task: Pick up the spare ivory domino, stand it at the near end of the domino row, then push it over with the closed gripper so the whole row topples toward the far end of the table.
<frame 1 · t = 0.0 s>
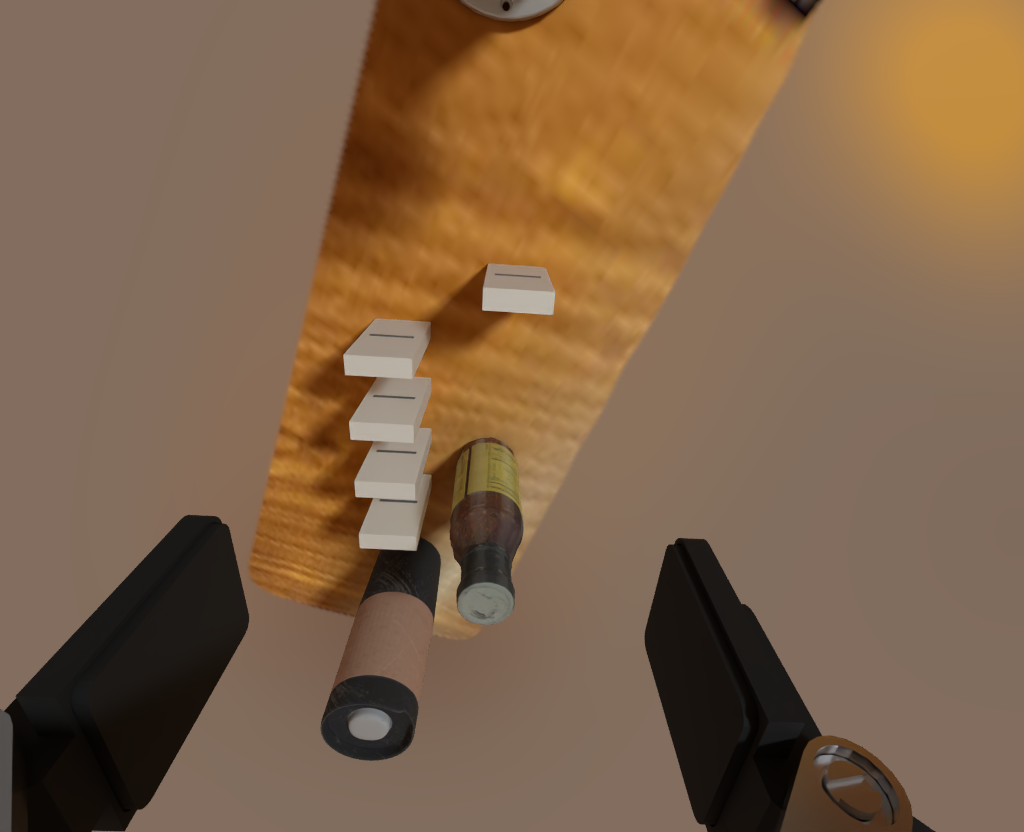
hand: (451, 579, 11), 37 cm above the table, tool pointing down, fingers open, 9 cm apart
travel mug: (410, 558, 58), on the table
domino 2: (405, 384, 48), on the table
domino 1: (403, 328, 46), on the table
sauce bottle: (489, 458, 52), on the table
domino 3: (406, 434, 51), on the table
domino 4: (408, 479, 53), on the table
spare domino: (516, 274, 44), on the table
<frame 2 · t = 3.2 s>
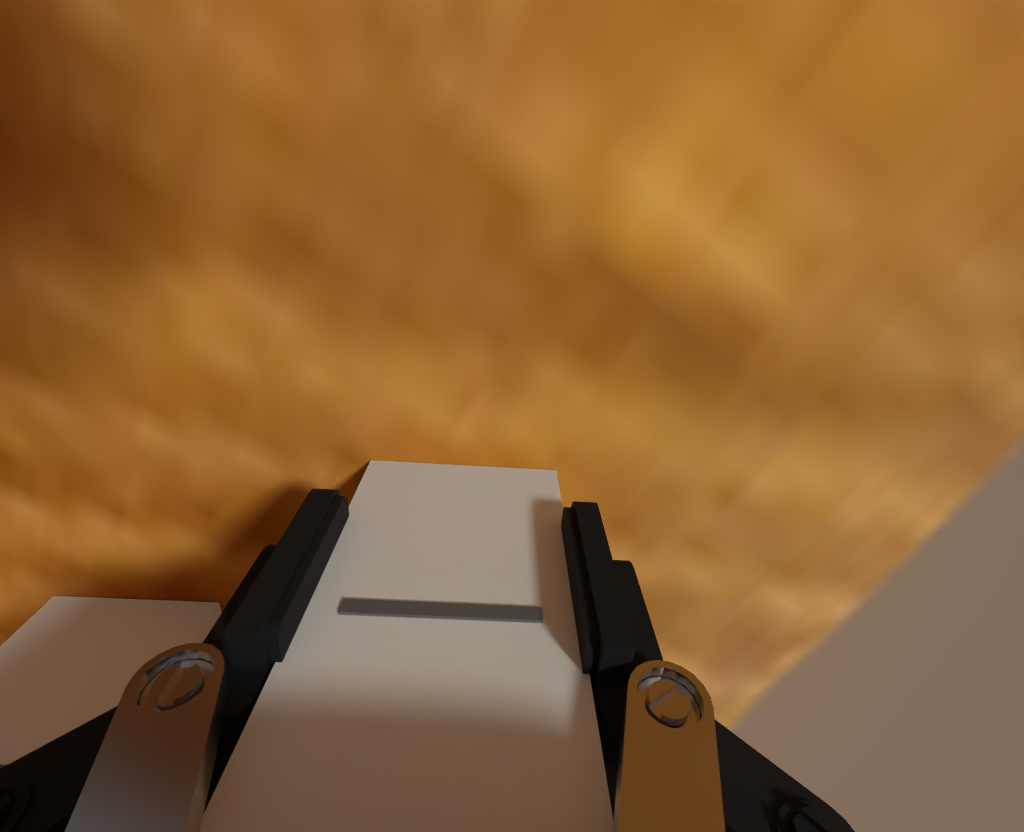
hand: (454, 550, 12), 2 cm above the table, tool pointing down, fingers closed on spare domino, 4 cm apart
domino 1: (143, 617, 16), on the table
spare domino: (463, 490, 14), on the table, touching gripper
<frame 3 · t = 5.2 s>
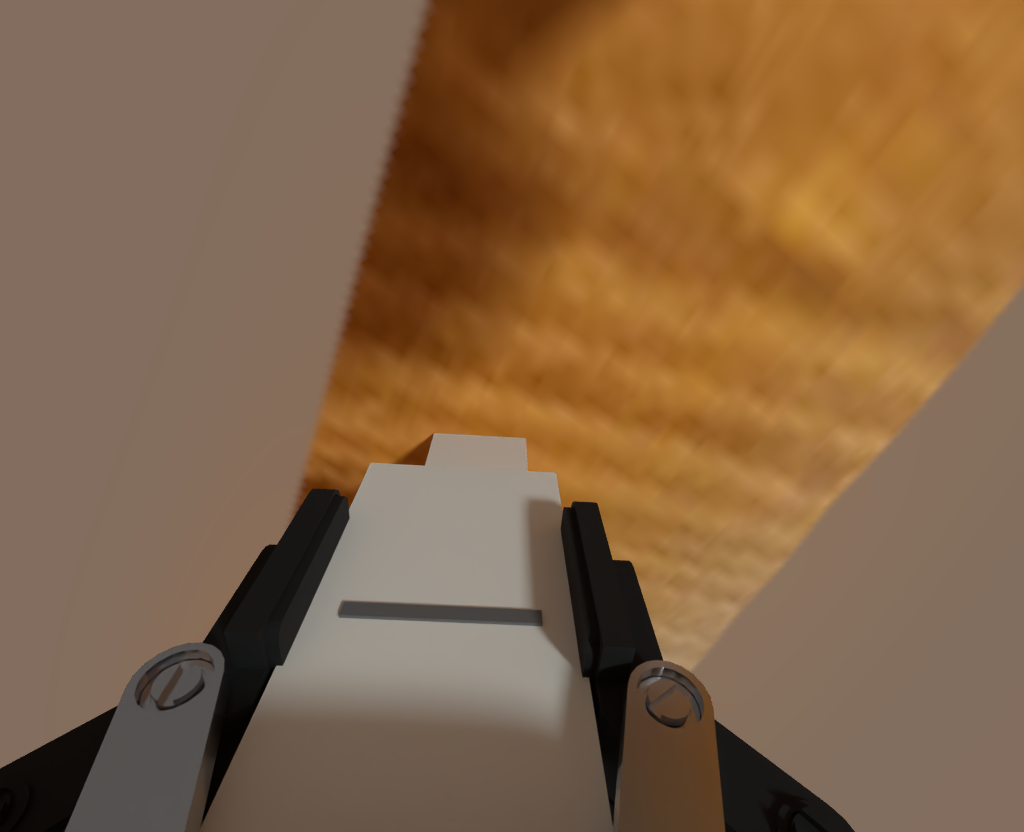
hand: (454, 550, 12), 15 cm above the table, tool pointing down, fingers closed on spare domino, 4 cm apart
domino 1: (479, 448, 28), on the table
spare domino: (463, 492, 14), point 12 cm above the table, touching gripper
when the fingers open (3 cm above the table, at t = 7.7 s): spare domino stays where it is, on the table.
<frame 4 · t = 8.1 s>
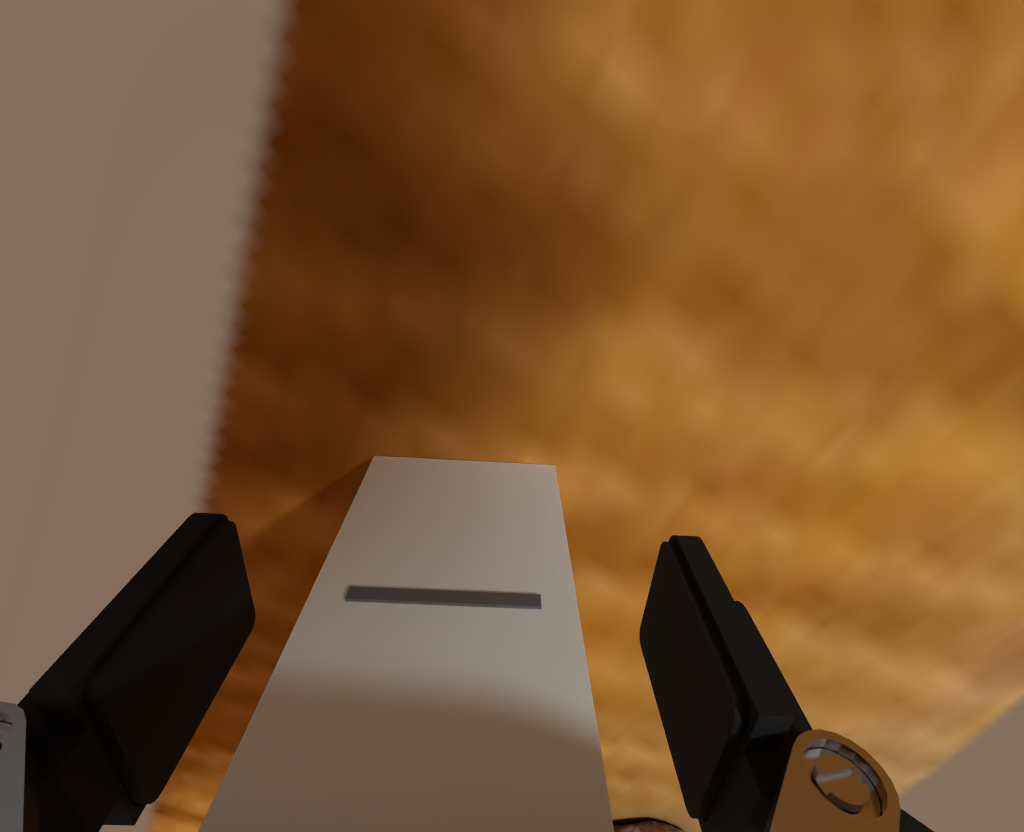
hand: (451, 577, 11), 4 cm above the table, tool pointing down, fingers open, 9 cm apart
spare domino: (464, 484, 14), on the table
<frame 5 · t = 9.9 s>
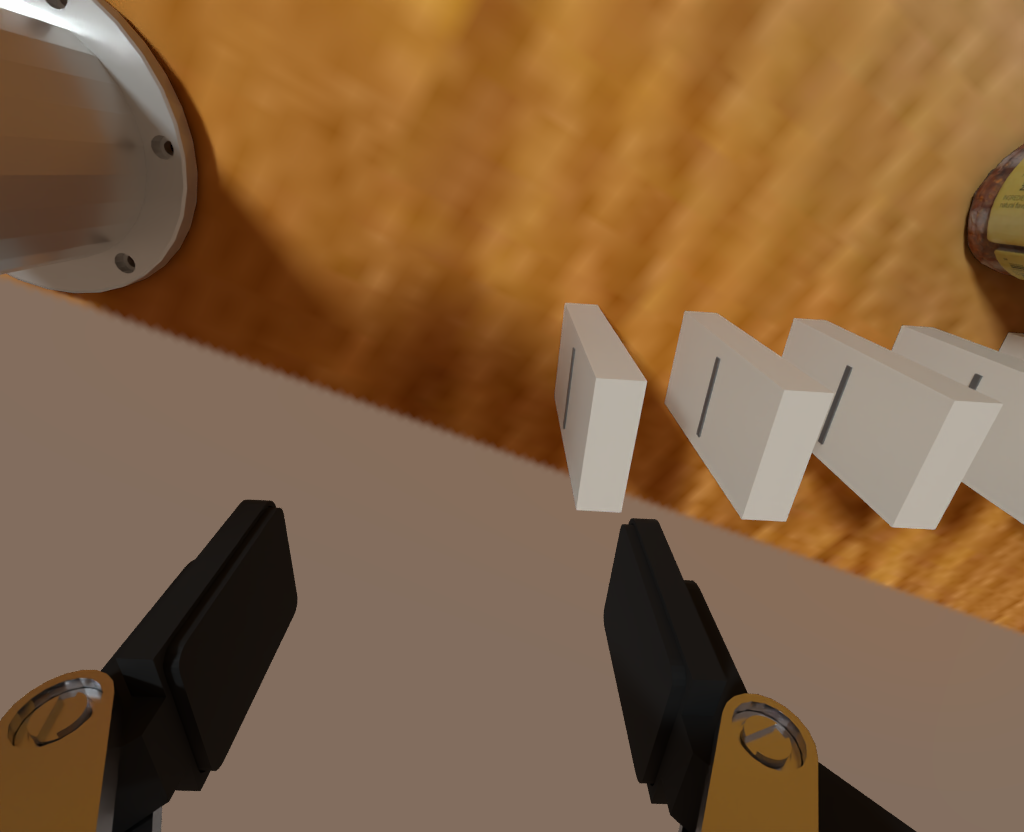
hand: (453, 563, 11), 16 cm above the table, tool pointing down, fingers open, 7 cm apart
domino 2: (794, 366, 26), on the table
domino 1: (689, 359, 26), on the table
sauce bottle: (1023, 199, 23), on the table
domino 3: (897, 373, 26), on the table
domino 4: (999, 379, 26), on the table
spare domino: (574, 352, 26), on the table
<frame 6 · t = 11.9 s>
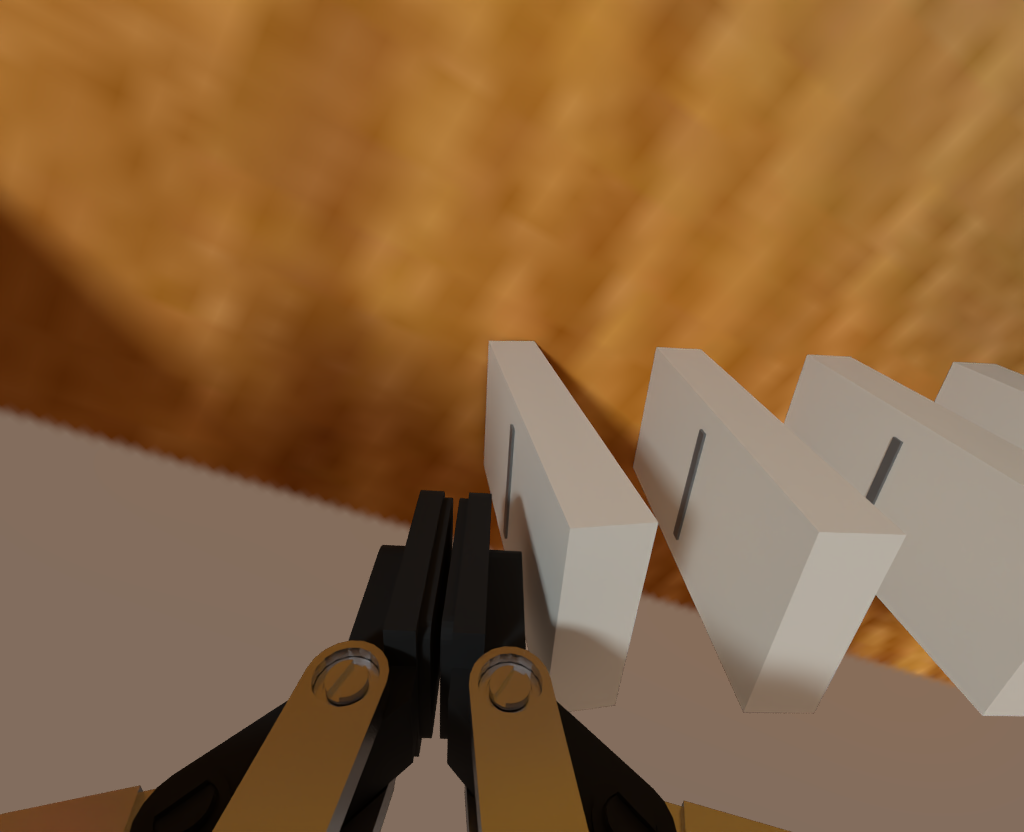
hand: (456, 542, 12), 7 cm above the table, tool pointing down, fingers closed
domino 2: (806, 417, 19), on the table
domino 1: (664, 411, 19), on the table
domino 3: (944, 423, 19), on the table
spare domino: (507, 406, 18), on the table, tilted 9°
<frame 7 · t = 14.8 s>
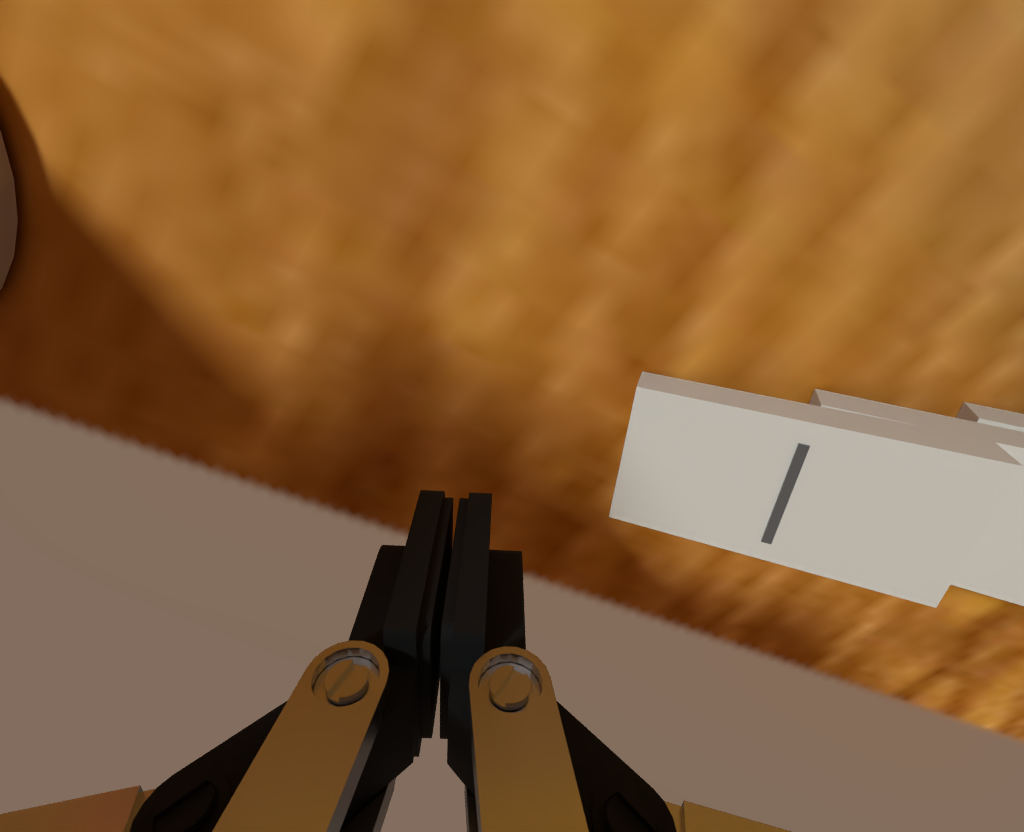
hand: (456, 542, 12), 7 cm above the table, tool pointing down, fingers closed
domino 2: (937, 473, 18), point 1 cm above the table, tilted 65°, touching domino 1, domino 3
domino 1: (792, 461, 18), point 1 cm above the table, tilted 68°, touching domino 2, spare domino
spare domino: (625, 445, 17), point 1 cm above the table, tilted 72°, touching domino 1
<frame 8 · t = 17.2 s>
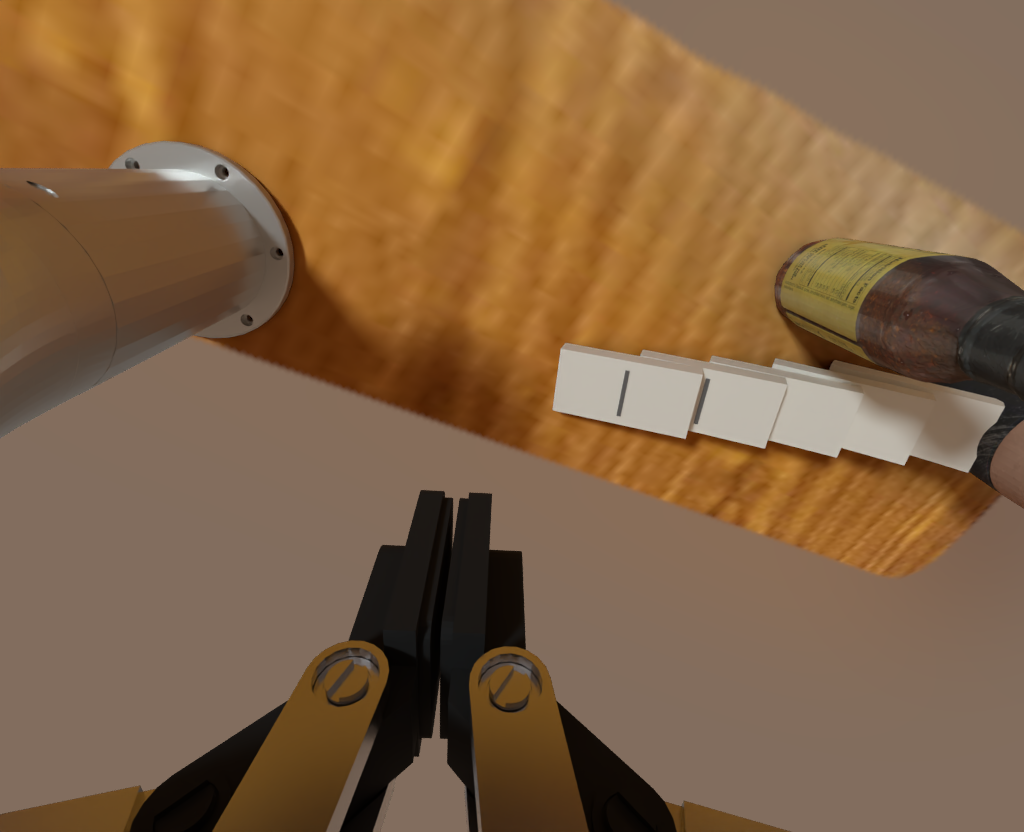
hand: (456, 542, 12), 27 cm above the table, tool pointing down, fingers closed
travel mug: (945, 396, 40), on the table, touching domino 4
domino 2: (702, 388, 39), point 1 cm above the table, tilted 64°, touching domino 1, domino 3
domino 1: (635, 383, 39), point 1 cm above the table, tilted 68°, touching domino 2, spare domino
sauce bottle: (810, 278, 36), on the table
domino 3: (764, 391, 39), point 1 cm above the table, tilted 58°, touching domino 2, domino 4
domino 4: (821, 392, 39), point 1 cm above the table, tilted 51°, touching domino 3, travel mug
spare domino: (558, 376, 38), point 1 cm above the table, tilted 72°, touching domino 1
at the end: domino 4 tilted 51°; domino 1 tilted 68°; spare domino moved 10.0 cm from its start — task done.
